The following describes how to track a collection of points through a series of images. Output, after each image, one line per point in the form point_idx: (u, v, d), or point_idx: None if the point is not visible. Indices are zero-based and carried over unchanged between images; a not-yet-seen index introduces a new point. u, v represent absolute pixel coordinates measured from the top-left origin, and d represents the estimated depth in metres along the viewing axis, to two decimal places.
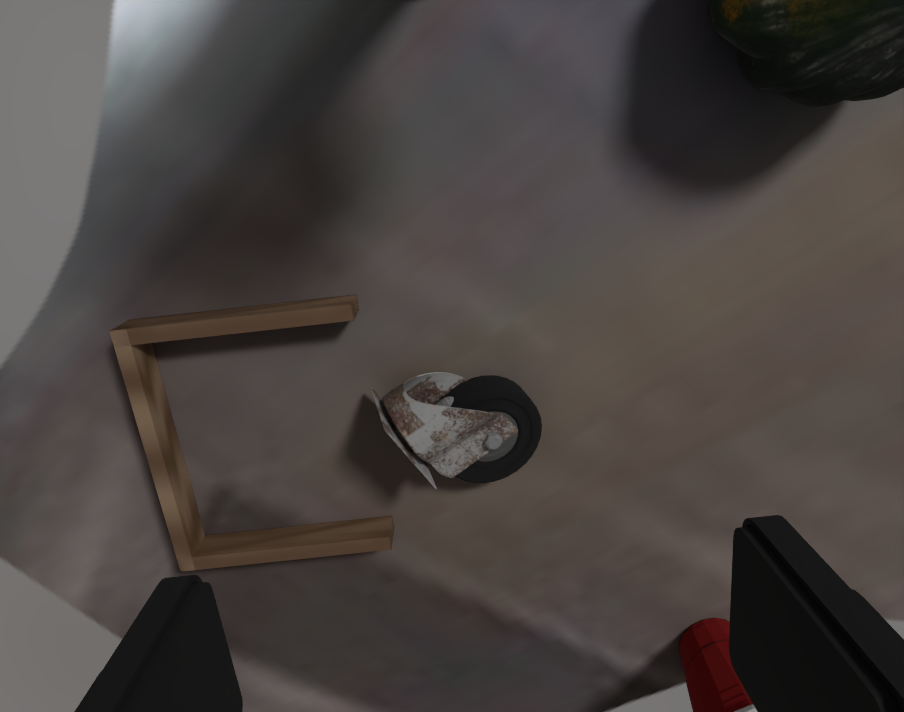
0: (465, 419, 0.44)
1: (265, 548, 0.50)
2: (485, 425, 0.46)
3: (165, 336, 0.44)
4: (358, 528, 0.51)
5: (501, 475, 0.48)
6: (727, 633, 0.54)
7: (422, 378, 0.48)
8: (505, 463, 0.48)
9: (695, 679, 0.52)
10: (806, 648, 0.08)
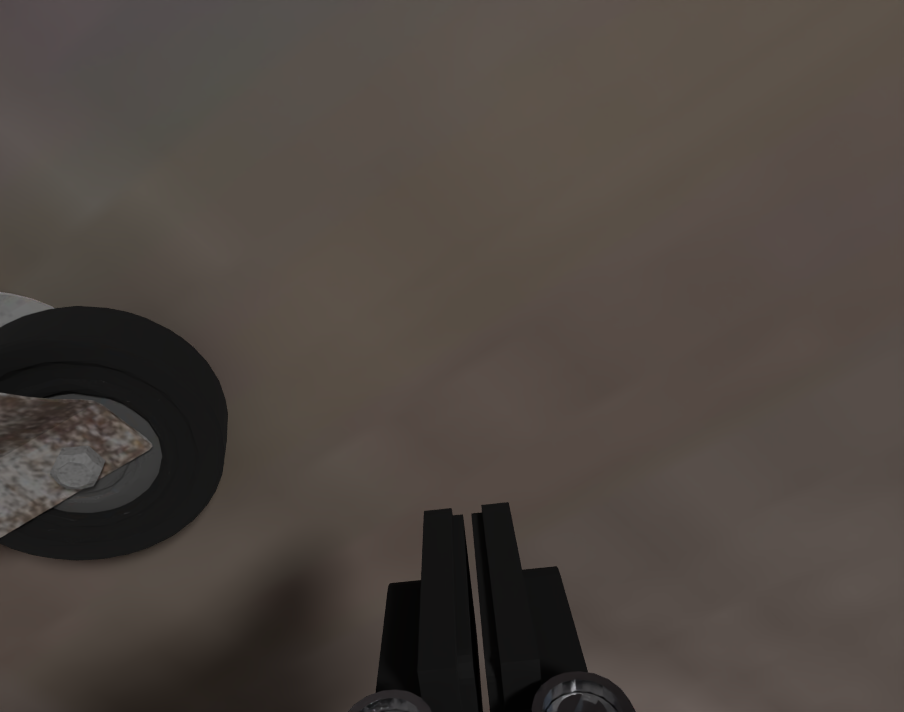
0: None
1: None
2: (49, 428, 0.18)
3: None
4: None
5: (128, 545, 0.21)
6: None
7: None
8: (136, 519, 0.21)
9: None
10: None
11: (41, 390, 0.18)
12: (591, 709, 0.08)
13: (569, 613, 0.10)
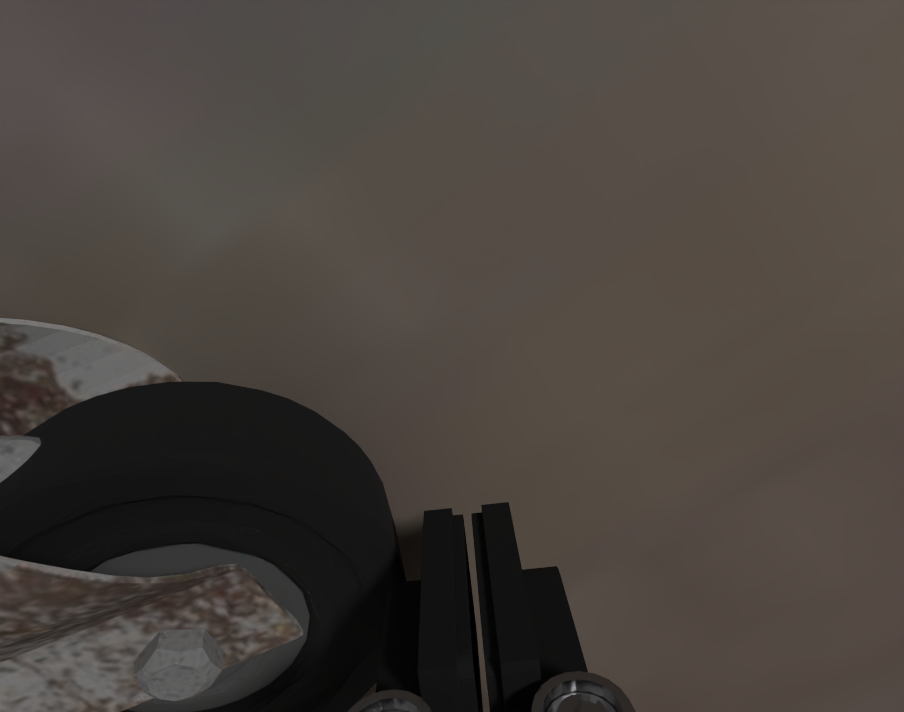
0: None
1: None
2: (150, 603, 0.10)
3: None
4: None
5: None
6: None
7: None
8: None
9: None
10: None
11: (151, 538, 0.10)
12: (591, 709, 0.08)
13: (569, 613, 0.10)
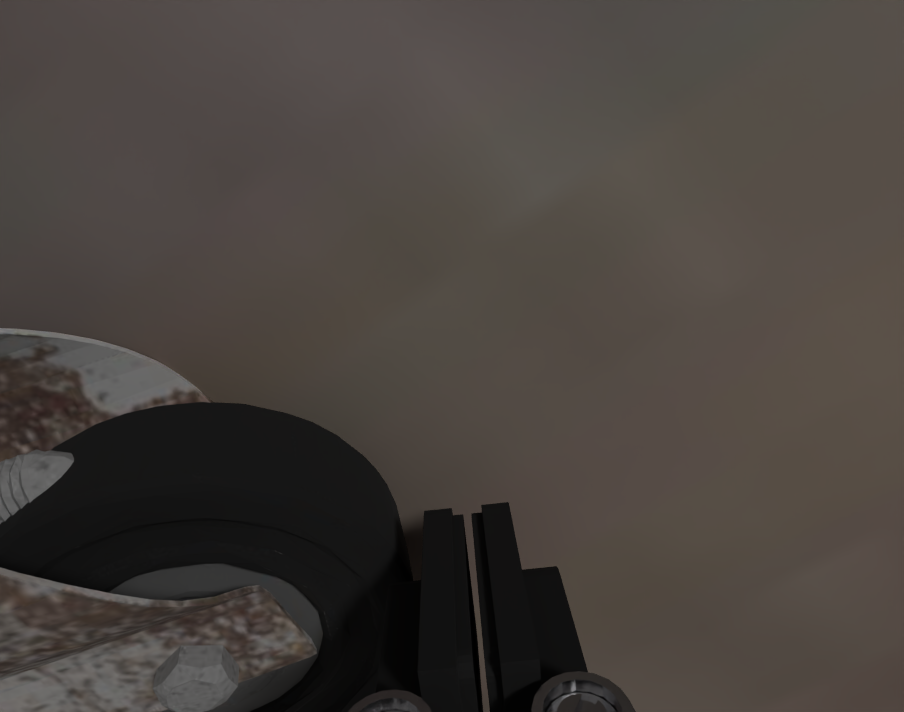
0: (8, 617, 0.08)
1: None
2: (174, 620, 0.10)
3: None
4: None
5: None
6: None
7: (10, 346, 0.12)
8: None
9: None
10: None
11: (179, 558, 0.10)
12: (591, 709, 0.08)
13: (569, 613, 0.10)
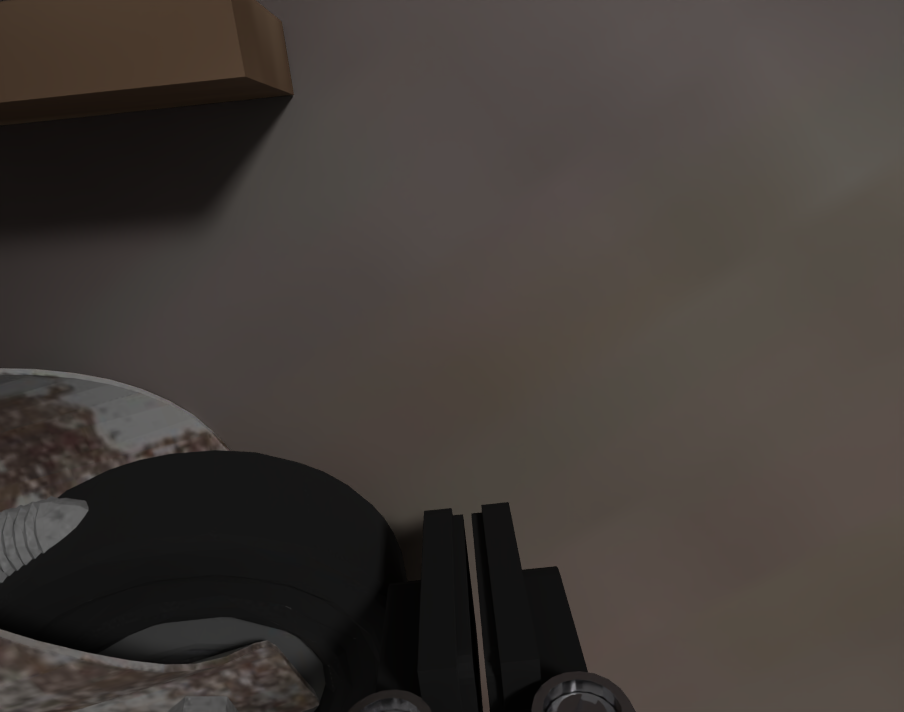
0: (24, 681, 0.08)
1: None
2: None
3: None
4: None
5: None
6: None
7: (26, 385, 0.12)
8: None
9: None
10: None
11: (190, 612, 0.10)
12: (591, 709, 0.08)
13: (569, 613, 0.10)
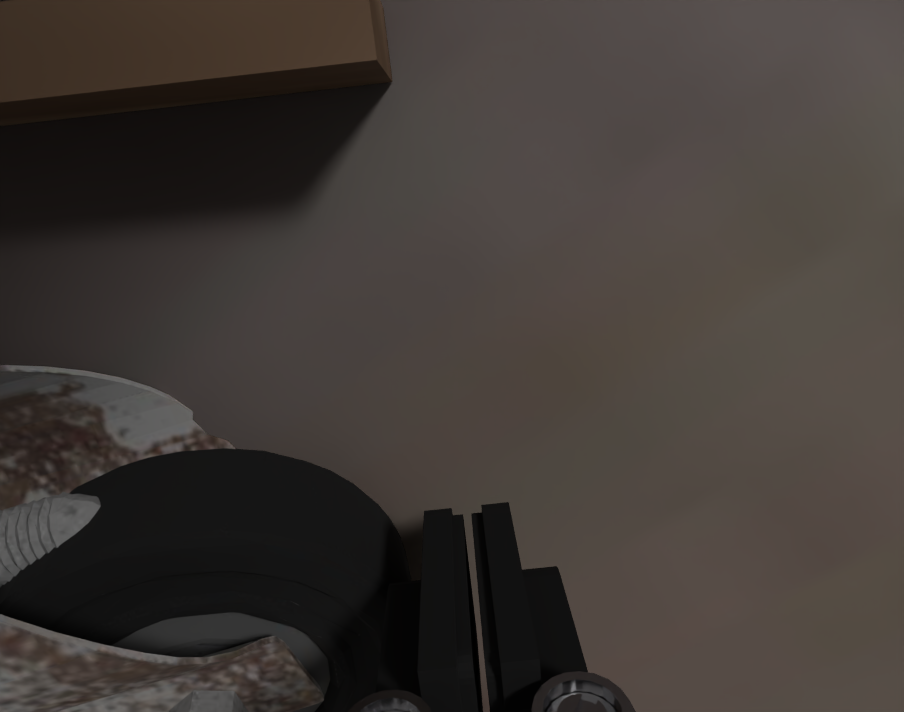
0: (41, 672, 0.08)
1: None
2: None
3: None
4: None
5: None
6: None
7: (38, 382, 0.12)
8: None
9: None
10: None
11: (199, 607, 0.11)
12: (591, 709, 0.08)
13: (569, 613, 0.10)
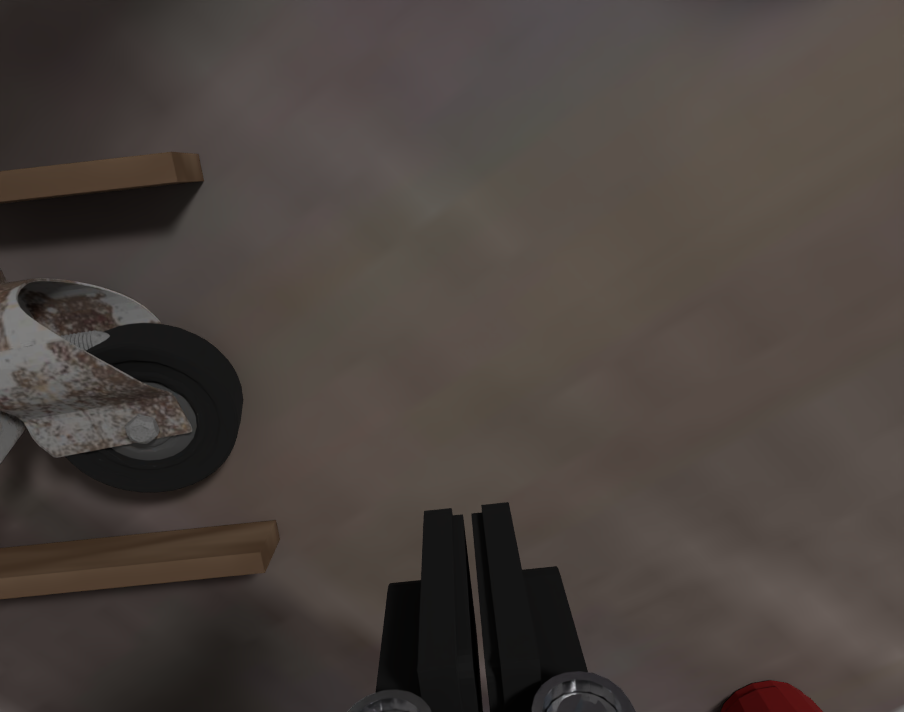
0: (88, 372, 0.26)
1: (66, 568, 0.32)
2: (137, 400, 0.28)
3: None
4: (218, 539, 0.33)
5: (144, 487, 0.30)
6: (794, 707, 0.35)
7: (87, 291, 0.29)
8: (158, 471, 0.30)
9: None
10: None
11: (143, 376, 0.28)
12: (591, 709, 0.08)
13: (569, 613, 0.10)
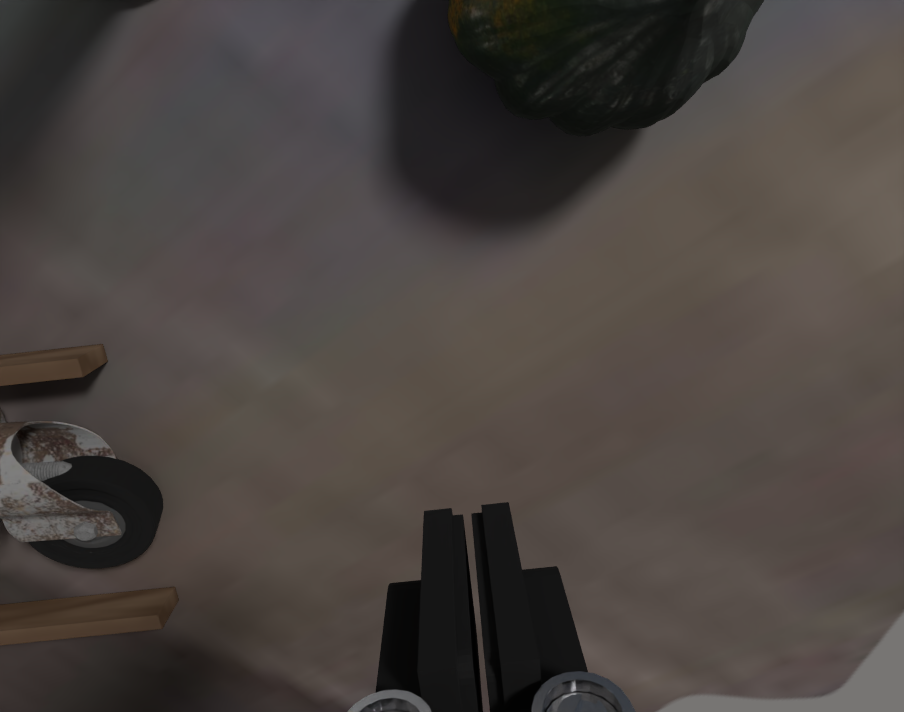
0: (53, 502, 0.38)
1: (19, 626, 0.44)
2: (85, 514, 0.40)
3: None
4: (131, 602, 0.45)
5: (81, 564, 0.43)
6: None
7: (60, 426, 0.41)
8: (92, 555, 0.43)
9: None
10: None
11: (91, 498, 0.40)
12: (591, 709, 0.08)
13: (569, 613, 0.10)
